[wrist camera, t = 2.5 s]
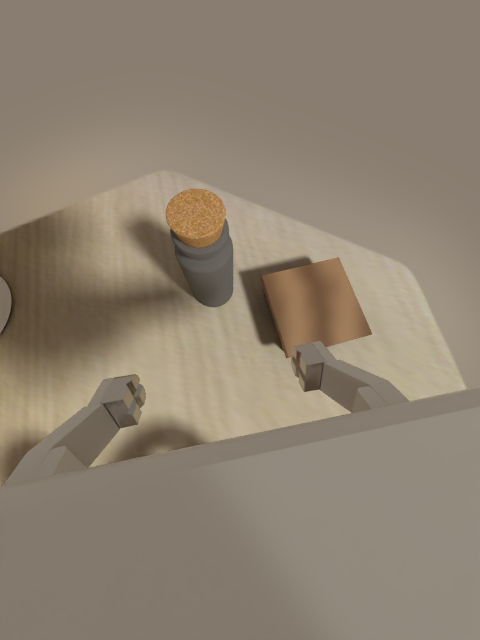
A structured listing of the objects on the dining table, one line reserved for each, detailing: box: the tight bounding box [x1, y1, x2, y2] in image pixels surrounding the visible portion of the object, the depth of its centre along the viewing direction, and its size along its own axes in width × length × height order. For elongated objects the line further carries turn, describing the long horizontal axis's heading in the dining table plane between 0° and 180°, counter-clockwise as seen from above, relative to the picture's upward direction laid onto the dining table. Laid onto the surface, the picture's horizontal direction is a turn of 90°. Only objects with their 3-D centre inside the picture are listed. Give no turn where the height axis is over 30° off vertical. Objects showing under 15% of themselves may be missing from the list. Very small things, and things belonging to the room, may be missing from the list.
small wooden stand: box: [261, 257, 372, 358], centre depth 28 cm, size 11×11×4 cm
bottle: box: [166, 189, 233, 307], centre depth 23 cm, size 6×6×15 cm
